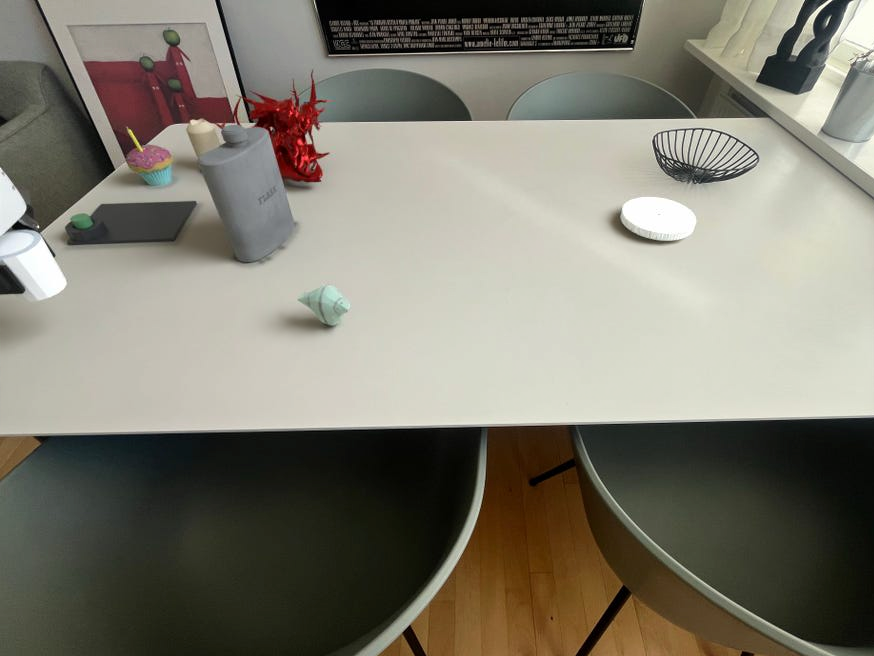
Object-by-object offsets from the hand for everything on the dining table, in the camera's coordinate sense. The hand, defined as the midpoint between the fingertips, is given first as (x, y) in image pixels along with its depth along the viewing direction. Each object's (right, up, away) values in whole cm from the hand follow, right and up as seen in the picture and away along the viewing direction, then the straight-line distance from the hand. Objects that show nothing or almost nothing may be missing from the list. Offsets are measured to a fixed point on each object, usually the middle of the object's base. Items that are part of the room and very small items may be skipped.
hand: (27, 273), depth 63 cm
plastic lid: (+94, +15, +32) cm, 101 cm away
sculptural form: (+17, +33, +47) cm, 60 cm away
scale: (-6, +15, +28) cm, 33 cm away
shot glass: (0, -2, +2) cm, 3 cm away
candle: (-1, +32, +46) cm, 56 cm away
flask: (+21, +10, +25) cm, 34 cm away
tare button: (-12, +13, +24) cm, 30 cm away
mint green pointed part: (+37, -6, +10) cm, 39 cm away
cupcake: (-10, +27, +41) cm, 50 cm away
